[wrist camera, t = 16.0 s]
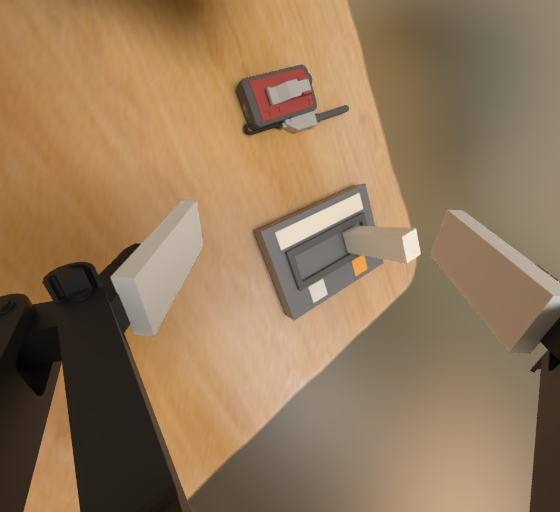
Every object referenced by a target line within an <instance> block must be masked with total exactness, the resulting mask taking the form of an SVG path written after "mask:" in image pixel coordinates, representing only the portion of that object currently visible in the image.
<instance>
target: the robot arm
mask: <svg viewBox="0 0 560 512" xmlns="http://www.w3.org/2000/svg"><path fill="white" fill-rule="evenodd" d="M202 247H203V239H202V233H201V226H200V220H199V213H198V207H197V201H196V200H182V201H181V202H180V203H179V204H178V205H177V206H176V207H175V208H174V209H173V210H172V211H171V212H170V213H169V215H168V216H167V217H166V218H165V219H164V220H163V221H162V222H161V223H160V224H159V225H158V226H157V227H156V229H155V230H154V231H153V232H152V233H151V234H150V235H149V236H148V237H147V238H146V239H145V240H144V241H143V243H142V244H133V245H132V246H130V247H128V248H126V249H124V250H123V251H122V252H121V253H120V254H119V255H118V256H117V258H115V259H114V260H113V261H112V262H111V264H109V265H108V266H107V267H106V268H105V269H104V270H103V271H102V272H101V273H100V274H99V275H98V273H97V271H96V269H95V267H94V266H93V265H92V264H91V263H87V262H76V263H71V264H67V265H64V266H61V267H58V268H56V269H55V270H53V271H51V272H50V273H48V274H47V275H46V276H45V277H44V279H43V284H44V286H45V287H46V289H47V291H48V292H49V294H50V296H51V297H52V299H53V301H51V302H45V303H39V304H33V305H32V303H31V302H30V300H29V298H28V297H27V296H25V295H24V294H9V295H5V296H1V297H0V512H23V511H24V507H25V503H26V499H27V496H28V492H29V488H30V484H31V480H32V476H33V472H34V468H35V464H36V460H37V457H38V453H39V449H40V445H41V441H42V437H43V433H44V429H45V425H46V421H47V418H48V414H49V410H50V406H51V402H52V398H53V394H54V390H55V386H56V382H57V378H58V375H59V371H60V367H61V363H62V365H63V374H64V382H65V390H66V398H67V406H68V414H69V423H70V431H71V439H72V447H73V455H74V463H75V472H76V480H77V488H78V496H79V504H80V512H191V510H190V507H189V504H188V502H187V499H186V496H185V494H184V491H183V488H182V486H181V483H180V480H179V478H178V475H177V472H176V470H175V467H174V464H173V462H172V459H171V456H170V454H169V451H168V448H167V446H166V443H165V440H164V438H163V435H162V433H161V430H160V427H159V425H158V422H157V419H156V417H155V414H154V411H153V409H152V406H151V403H150V401H149V398H148V395H147V393H146V390H145V387H144V385H143V382H142V379H141V377H140V374H139V371H138V369H137V366H136V363H135V361H134V358H133V355H132V353H131V350H130V347H129V345H128V342H127V340H126V337H125V335H124V333H125V331H126V330H127V328H128V327H129V325H130V326H131V329H132V331H133V334H134V335H136V336H155V334H156V333H157V331H158V329H159V327H160V325H161V323H162V321H163V320H164V318H165V316H166V314H167V312H168V310H169V308H170V307H171V305H172V303H173V301H174V299H175V297H176V295H177V294H178V292H179V290H180V288H181V286H182V284H183V282H184V281H185V279H186V277H187V275H188V273H189V271H190V269H191V268H192V266H193V264H194V262H195V260H196V258H197V256H198V255H199V253H200V251H201V249H202ZM430 255H431V256H432V258H433V259H434V260H435V261H436V263H437V264H438V265H439V266H440V268H441V269H442V270H443V271H444V273H445V274H446V275H447V276H448V277H449V279H450V280H451V281H452V282H453V284H454V285H455V286H456V287H457V288H458V290H459V291H460V292H461V294H462V295H463V296H464V297H465V298H466V300H467V301H468V302H469V303H470V305H471V306H472V307H473V308H474V310H475V311H476V312H477V313H478V315H479V316H480V317H481V318H482V319H483V321H484V322H485V323H486V324H487V325H488V327H489V328H490V329H491V330H492V332H493V333H494V334H495V336H496V337H497V338H498V339H499V340H500V342H501V343H502V344H503V345H504V346H505V348H506V349H507V350H508V352H511V353H531V352H532V351H533V350H534V349H535V347H536V346H537V345H538V344H539V343H540V342H541V343H542V344H543V345H544V346H545V347H546V348H547V349H548V350H547V352H546V353H545V354H544V355H543V356H542V357H541V358H540V359H539V360H538V361H537V363H536V364H535V365H534V366H533V367H532V369H531V370H530V371H532V372H535V371H536V370H537V369H541V374H540V388H539V401H538V413H537V426H536V438H535V451H534V463H533V464H534V465H533V476H532V489H531V502H530V512H560V282H558V280H557V279H556V278H554V277H553V276H552V275H549V273H548V272H546V271H545V270H544V269H542V268H541V267H540V266H538V265H536V264H534V263H533V262H531V261H530V260H528V259H527V258H526V257H524V256H523V255H522V254H520V253H519V252H518V251H516V250H515V249H514V248H512V247H511V246H510V245H508V244H507V243H505V242H504V241H503V240H502V239H500V238H499V237H498V236H496V235H495V234H493V233H492V232H491V231H489V230H488V229H487V228H485V227H484V226H483V225H481V224H480V223H479V222H477V221H476V220H475V219H473V218H472V217H471V216H469V215H468V214H467V213H465V212H464V211H462V210H447V213H446V215H445V218H444V220H443V223H442V225H441V228H440V230H439V233H438V235H437V238H436V241H435V243H434V245H433V248H432V250H431V253H430Z"/></svg>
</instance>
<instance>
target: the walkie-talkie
mask: <svg viewBox="0 0 560 512" xmlns="http://www.w3.org/2000/svg"><path fill="white" fill-rule="evenodd" d="M236 94H237V97H238V99H239V102H240V105H241V108H242V110H243V113H244V116H245V119H246V121H247V124H246V125H245V126H244V129H245V132H246V133H247V134H249V135H252V134H256V133H259V132H262V131H265V130H268V129H271V128H280V130H281V129H284V130H286V131H288V132H290V133H296V132H299V131H302V130H305V129H311V128H313V127H315V126H317V125H318V122H320V121H321V120H324V119H327V118H330V117H333V116H336V115H339V114H342V113H345V112H347V111H348V110H349V107H348V106H347V105H345V106H342V107H339V108H336V109H333V110H330V111H327V112H324V113H321V114H315V112H314V110H315V109H316V107H317V103H316V97H315V95H314V91H313V88H312V77H311V75H310V74H309V73H308V70H307V68H306V67H305V66H304V65H298V66H294V67H289V68H285V69H281V70H278V71H275V72H274V71H272V72H269V73H266V74H262V75H261V74H260V75H256V76H253V77H249V78H247V77H246V78H245V79H244V78H243V79H242V81H241V82H240V83H239V85H238V86H237V89H236ZM279 123H280V124H279ZM278 124H279V125H278ZM248 127H249V129H251V130H252V131H249V130H248Z"/></svg>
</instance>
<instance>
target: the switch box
mask: <svg viewBox="0 0 560 512" xmlns="http://www.w3.org/2000/svg"><path fill="white" fill-rule="evenodd" d="M353 226H375V224H374V219H373V215H372V211H371V206H370V202H369V198H368V193H367V189H366V185H365V184H360V185H353V186H351V187H349V188H347V189H344V190H342V191H340V192H338V193H336V194H333V195H331V196H329V197H327V198H325V199H322V200H320V201H318V202H316V203H314V204H311V205H309V206H307V207H305V208H303V209H300V210H298V211H296V212H294V213H291V214H289V215H287V216H285V217H283V218H280V219H278V220H276V221H274V222H272V223H269V224H267V225H265V226H263V227H261V228H258V229H256V230H254V234H255V237H256V239H257V242H258V244H259V247H260V250H261V252H262V255H263V257H264V260H265V263H266V265H267V268H268V270H269V273H270V276H271V278H272V281H273V283H274V286H275V289H276V291H277V294H278V297H279V299H280V302H281V304H282V307H283V310H284V312H285V315H287V316H288V317H290V318H291V319H293V320H296V319H297V318H299V317H300V316H302V315H303V314H305V313H306V312H308V311H310V310H311V309H313V308H314V307H316V306H317V305H319V304H320V303H322V302H324V301H325V300H327V299H328V298H330V297H331V296H333V295H334V294H336V293H338V292H339V291H341V290H342V289H344V288H345V287H347V286H348V285H350V284H352V283H353V282H355V281H356V280H358V279H359V278H361V277H362V276H364V275H366V274H367V273H369V272H370V271H372V270H373V269H375V268H376V267H378V266H380V265H381V264H383V259H380V258H374V257H368V256H363V255H357V254H351V253H348V252H347V249H346V245H345V241H344V238H343V234H342V232H343V231H345V230H347V229H349V228H351V227H353Z"/></svg>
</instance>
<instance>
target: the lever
mask: <svg viewBox="0 0 560 512" xmlns="http://www.w3.org/2000/svg"><path fill="white" fill-rule="evenodd" d="M342 234H343V238H344V241H345V245H346V249H347V252H348V253H351V254H357V255H363V256H368V257H374V258H380V259H385V260H391V261H397V262H403V263H408V262H410V261H411V260H413V259H414V258H416V257H417V256H419V255H420V254H421V253H420V248H419V242H418V237H417V231H416V228H399V227H375V226H353V227H351V228H349V229H347V230H345V231H343V232H342Z"/></svg>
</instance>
